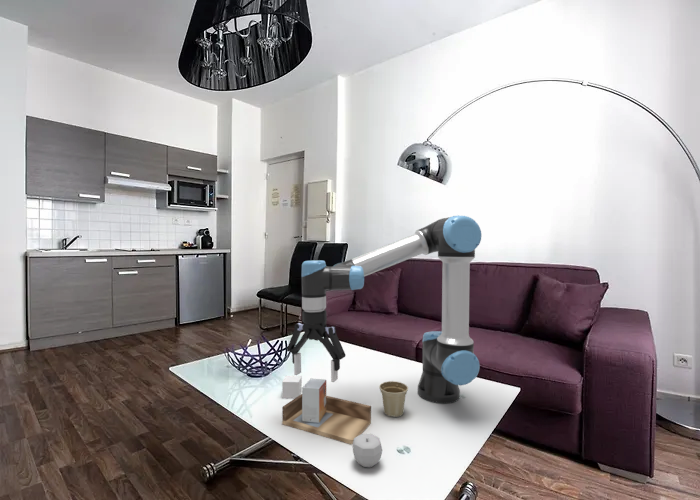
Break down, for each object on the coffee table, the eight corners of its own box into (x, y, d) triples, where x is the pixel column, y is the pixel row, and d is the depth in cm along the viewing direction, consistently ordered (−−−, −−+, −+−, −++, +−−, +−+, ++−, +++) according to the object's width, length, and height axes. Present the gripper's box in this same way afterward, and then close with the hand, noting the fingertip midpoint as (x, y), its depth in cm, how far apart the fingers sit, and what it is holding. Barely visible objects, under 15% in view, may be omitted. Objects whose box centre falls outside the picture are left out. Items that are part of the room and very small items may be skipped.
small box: (319, 423, 105) (319, 389, 105) (301, 421, 106) (301, 387, 106) (326, 411, 113) (326, 379, 112) (310, 409, 114) (310, 377, 114)
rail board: (370, 423, 108) (370, 405, 108) (352, 444, 96) (352, 425, 96) (306, 406, 119) (306, 390, 118) (282, 424, 107) (282, 406, 107)
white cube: (285, 391, 131) (285, 375, 131) (301, 391, 131) (301, 375, 131) (282, 398, 125) (282, 381, 125) (298, 398, 125) (298, 382, 125)
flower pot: (400, 423, 108) (401, 395, 108) (374, 415, 113) (374, 388, 113) (412, 410, 116) (412, 385, 116) (386, 403, 121) (387, 379, 121)
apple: (346, 469, 86) (346, 442, 86) (357, 451, 93) (357, 426, 93) (377, 476, 83) (378, 449, 83) (386, 457, 90) (386, 432, 90)
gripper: (355, 310, 106) (356, 379, 107) (289, 305, 118) (290, 367, 118) (343, 315, 100) (345, 388, 100) (275, 309, 111) (276, 375, 111)
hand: (315, 377), depth 109 cm, fingers open, 13 cm apart
